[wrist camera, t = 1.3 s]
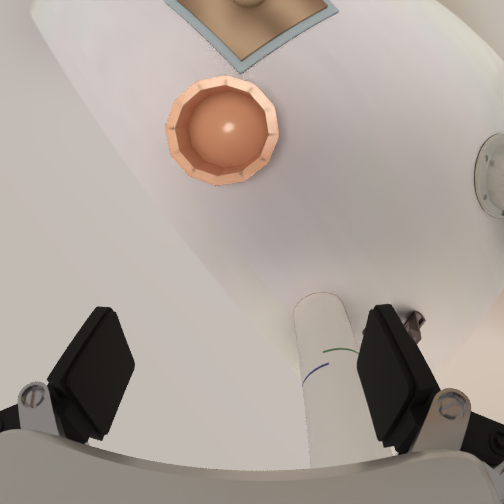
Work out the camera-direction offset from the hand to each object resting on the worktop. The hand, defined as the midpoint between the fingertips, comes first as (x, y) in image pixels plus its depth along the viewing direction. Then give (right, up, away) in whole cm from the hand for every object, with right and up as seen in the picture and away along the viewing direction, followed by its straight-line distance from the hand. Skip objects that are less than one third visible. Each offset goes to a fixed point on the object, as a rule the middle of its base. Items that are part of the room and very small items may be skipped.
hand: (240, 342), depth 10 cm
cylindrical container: (+10, -5, +29) cm, 31 cm away
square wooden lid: (0, +31, +12) cm, 33 cm away
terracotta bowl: (-2, +16, +19) cm, 26 cm away
